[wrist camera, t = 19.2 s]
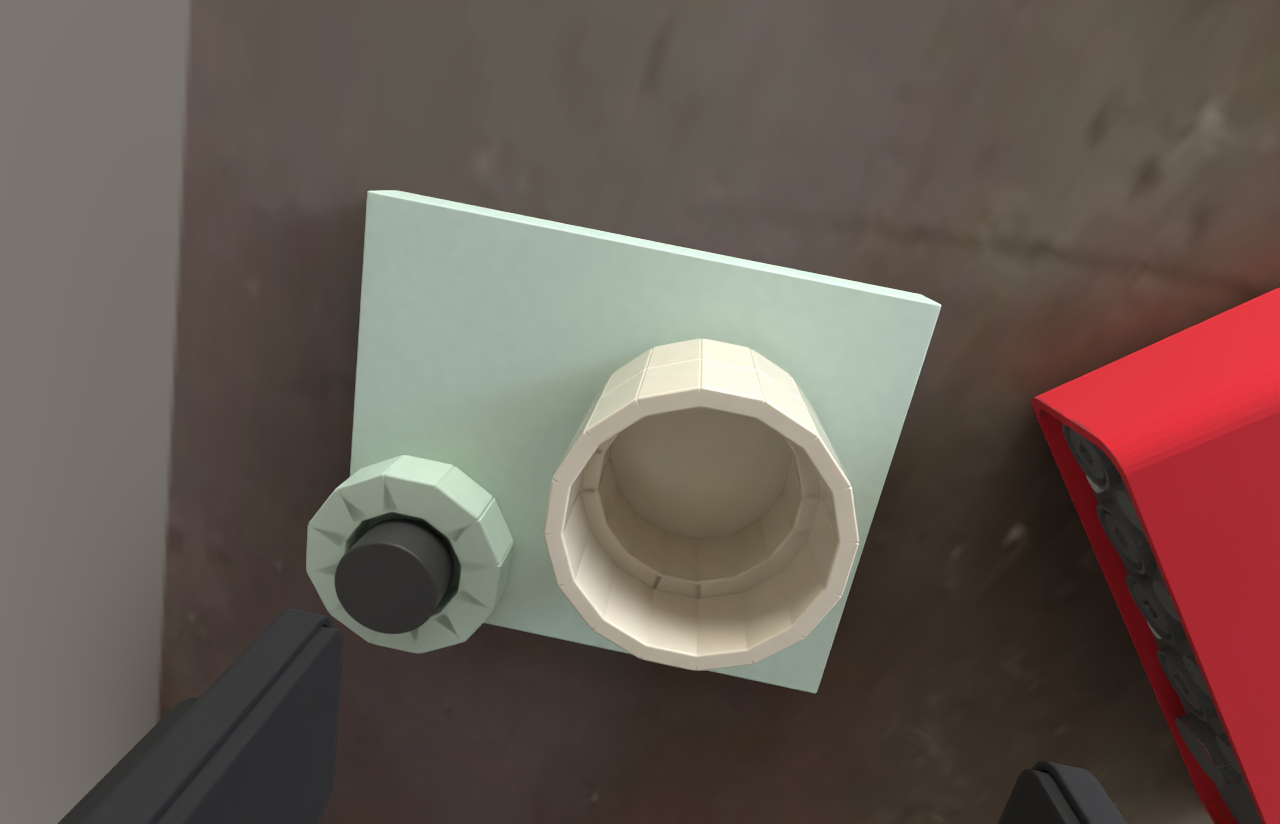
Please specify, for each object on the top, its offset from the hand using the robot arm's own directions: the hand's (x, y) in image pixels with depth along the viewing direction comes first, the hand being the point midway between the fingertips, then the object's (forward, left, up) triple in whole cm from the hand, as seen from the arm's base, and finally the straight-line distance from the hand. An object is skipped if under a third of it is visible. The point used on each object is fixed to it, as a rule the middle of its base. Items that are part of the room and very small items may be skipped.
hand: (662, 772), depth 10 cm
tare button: (-8, -5, -11) cm, 14 cm away
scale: (-2, -1, -14) cm, 14 cm away
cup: (0, 0, -12) cm, 12 cm away
